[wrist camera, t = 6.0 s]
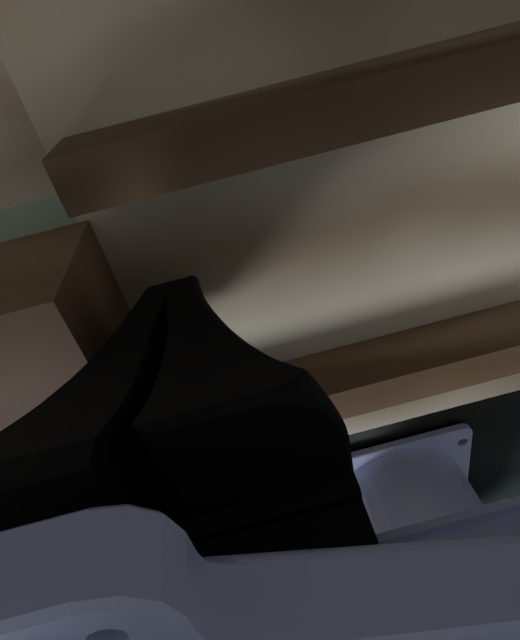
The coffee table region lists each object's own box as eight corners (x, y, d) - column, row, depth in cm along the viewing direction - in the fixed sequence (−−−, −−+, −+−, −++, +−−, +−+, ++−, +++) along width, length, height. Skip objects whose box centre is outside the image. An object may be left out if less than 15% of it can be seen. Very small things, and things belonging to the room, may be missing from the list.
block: (154, 364, 14) (148, 468, 11) (2, 404, 14) (-51, 520, 11) (89, 220, 11) (53, 301, 8) (-103, 269, 11) (-217, 370, 8)
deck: (495, 349, 20) (566, 424, 16) (-85, 501, 19) (-145, 612, 16) (561, -170, 10) (762, -266, 7) (-533, 108, 10) (-918, 157, 7)
